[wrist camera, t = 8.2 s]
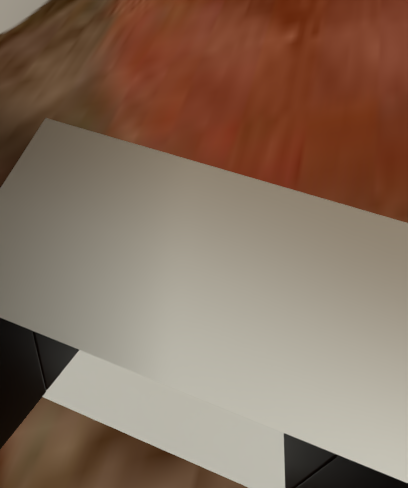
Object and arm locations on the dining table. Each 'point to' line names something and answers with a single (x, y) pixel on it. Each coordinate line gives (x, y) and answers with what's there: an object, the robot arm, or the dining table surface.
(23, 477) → the dining table surface
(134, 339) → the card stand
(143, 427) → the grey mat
